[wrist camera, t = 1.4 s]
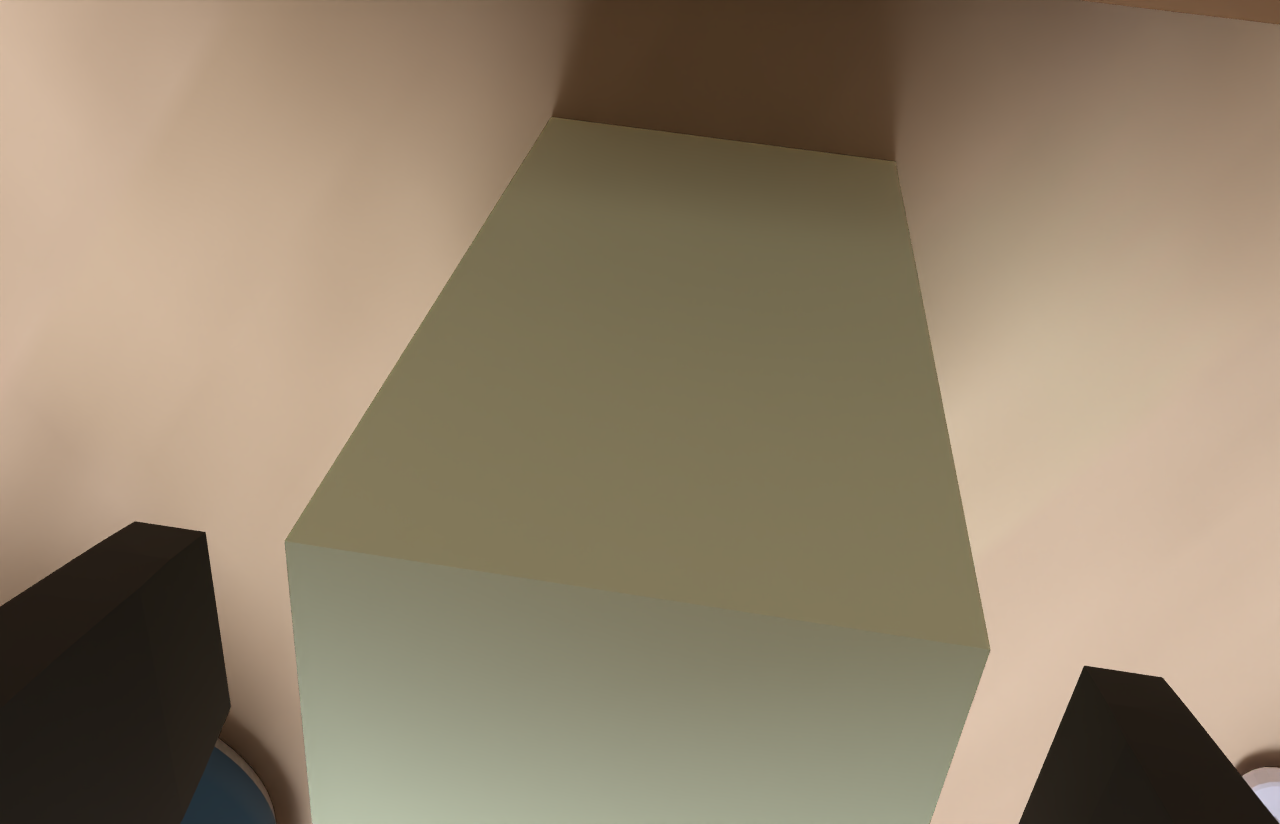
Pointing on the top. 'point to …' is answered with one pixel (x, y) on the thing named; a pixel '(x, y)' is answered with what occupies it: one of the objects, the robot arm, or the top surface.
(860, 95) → the top surface
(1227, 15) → the walnut collar
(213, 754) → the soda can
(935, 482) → the sage peg
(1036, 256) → the top surface
